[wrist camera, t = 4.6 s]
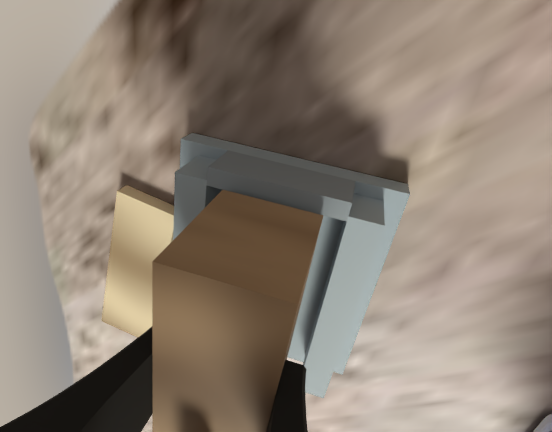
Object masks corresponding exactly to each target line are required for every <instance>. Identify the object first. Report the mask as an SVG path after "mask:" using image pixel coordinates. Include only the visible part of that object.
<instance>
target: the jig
mask: <svg viewBox="0 0 552 432" xmlns="http://www.w3.org/2000/svg"><path fill="white" fill-rule="evenodd" d="M222 190H226V191H230V192H234V193H238V194H242V195H246V196H250V197H254V198H258V199H262V200H265V201H269V202H273V203H277V204H281V205H285V206H289V207H293V208H297V209H300V210H304V211H308V212H312V213H316V214H320V215H323V219H322V223H321V227H320V231H319V235H318V239H317V243H316V247H315V251H314V255H313V258H312V262H311V266H310V270H309V274H308V278H307V282H306V286H305V290H304V294H303V298H302V302H301V305H300V309H299V313H298V317H297V321H296V325H295V329H294V333H293V337H292V341H291V345H290V348H289V352H288V356H287V357H288V358H292V359H295V360H298V361H301V362H304V363H303V365H304V366H305V368H306V369H307V370H306V381H305V392H306V393H309V394H312V395H315V396H318V397H321V398H324V396H325V393H326V390H327V388H328V385H329V382H330V379H331V376H332V373H333V372H336V373H339V374H343V371H344V369H345V366H346V363H347V361H348V358H349V355H350V353H351V350H352V347H353V345H354V342H355V339H356V337H357V334H358V331H359V329H360V326H361V323H362V321H363V318H364V315H365V313H366V310H367V307H368V305H369V302H370V299H371V297H372V294H373V291H374V289H375V286H376V283H377V281H378V278H379V275H380V273H381V270H382V267H383V265H384V262H385V259H386V257H387V254H388V251H389V249H390V246H391V243H392V241H393V238H394V235H395V233H396V230H397V227H398V225H399V222H400V219H401V217H402V214H403V211H404V209H405V206H406V203H407V201H408V198H409V195H410V192H409V187H408V184H405V183H401V182H397V181H393V180H389V179H384V178H380V177H376V176H372V175H368V174H363V173H359V172H355V171H351V170H347V169H342V168H338V167H334V166H330V165H325V164H321V163H317V162H313V161H309V160H304V159H300V158H296V157H292V156H288V155H283V154H279V153H275V152H271V151H267V150H262V149H258V148H254V147H250V146H246V145H241V144H237V143H233V142H229V141H225V140H220V139H216V138H212V137H208V136H204V135H199V134H195V133H191V134H189V135H187V136H185V137H183V138H182V139H181V151H180V169H179V170H177V171H176V172H175V192H174V229H173V240H174V239H175V238H176V237H177V236H178V235H179V234H180V233H181V232H182V231H183V230H184V229H185V228H186V227H187V226H188V225H189V224H190V223H191V222H192V220H193V219H194V218H195V217H196V216H197V215H198V214H199V213H200V212H201V211H202V210H203V209H204V208H205V207H206V206H207V205H208V204H209V203H210V202H211V201H212V200H213V199H214V198H215V197H216V196H217V195H218V194H219V193H220V192H221V191H222Z"/></svg>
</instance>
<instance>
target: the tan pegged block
mask: <svg viewBox="0 0 552 432" xmlns="http://www.w3.org/2000/svg"><path fill="white" fill-rule="evenodd" d="M322 219H323V215H320V214H316V213H312V212H308V211H304V210H300V209H297V208H293V207H289V206H285V205H281V204H277V203H273V202H269V201H265V200H262V199H258V198H254V197H250V196H246V195H242V194H238V193H234V192H230V191H226V190H222V191H221V192H220V193H219V194H218V195H217V196H216V197H215V198H214V199H213V200H212V201H211V202H210V203H209V204H208V205H207V206H206V207H205V208H204V209H203V210H202V211H201V212H200V213H199V214H198V215H197V216H196V217H195V218H194V219H193V220H192V222H191V223H190V224H189V225H188V226H187V227H186V228H185V229H184V230H183V231H182V232H181V233H180V234H179V235H178V236H177V237H176V238H175V239H174V240H173V241H172V242H171V243H170V244H169V245H168V246H167V247H166V248H165V249H164V250H163V251H162V252H161V253H160V254H159V255H158V256H157V257H156V258H155V259H154V260H153V261H152V355H153V432H266V431H267V427H268V424H269V420H270V416H271V412H272V408H273V404H274V400H275V396H276V392H277V388H278V384H279V381H280V377H281V374H282V370H283V366H284V363H285V360H287V356H288V352H289V348H290V345H291V341H292V337H293V333H294V329H295V325H296V321H297V317H298V313H299V309H300V305H301V302H302V298H303V294H304V290H305V286H306V282H307V278H308V274H309V270H310V266H311V262H312V258H313V255H314V251H315V247H316V243H317V239H318V235H319V231H320V227H321V223H322Z"/></svg>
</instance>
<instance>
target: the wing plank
mask: <svg viewBox="0 0 552 432" xmlns="http://www.w3.org/2000/svg"><path fill="white" fill-rule="evenodd" d="M173 229H174V206H173V205H171V204H169V203H166V202H164V201H162V200H160V199H157V198H155V197H153V196H150V195H148V194H146V193H144V192H141V191H139V190H137V189H134V188H132V187H130V186H127V185H126V186H124V187H123V188H121V189H120V190H118V191H117V196H116V205H115V213H114V221H113V230H112V238H111V246H110V255H109V263H108V272H107V280H106V288H105V297H104V305H103V313H102V321H103V322H105V323H107V324H109V325H112V326H114V327H116V328H118V329H120V330H123V331H125V332H127V333H129V334H131V335H134V336H136V337H139V336H141V335H142V334H143V333H144V332H146V331H147V330H148V329H149V328H151V327H152V261H153V260H154V259H155V258H156V257H157V256H158V255H159V254H160V253H161V252H162V251H163V250H164V249H165V248H166V247H167V246H168V245H169V244H170V243H171V242H172V241H173Z"/></svg>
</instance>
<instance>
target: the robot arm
mask: <svg viewBox="0 0 552 432" xmlns="http://www.w3.org/2000/svg"><path fill="white" fill-rule="evenodd" d="M306 370H307V369H306V368H305V366H304V365H301V364H297V363H294V362H291V361H288V360H285V363H284V366H283V370H282V374H281V377H280V381H279V384H278V388H277V392H276V396H275V400H274V404H273V408H272V412H271V416H270V420H269V424H268V427H267V431H266V432H308V431H307V421H306V404H305V381H306ZM152 413H153V355H152V327H151V328H149V329H148V330H147V331H146V332H144V333H143V334H142V335H141V336H139V337H138V338H137V339H136V340H134V341H133V342H132V343H130V344H129V345H128V346H127V347H125V348H124V349H123V350H121V351H120V352H119V353H117V354H116V355H115V356H113V357H112V358H110V359H109V360H108V361H106V362H105V363H104V364H102V365H101V366H100V367H98V368H97V369H95V370H94V371H92V372H91V373H89V374H88V375H86V376H85V377H83V378H82V379H80V380H79V381H77V382H76V383H74V384H73V385H72V386H70V387H69V388H67V389H65V390H64V391H62V392H61V393H59V394H58V395H56V396H54V397H53V398H51V399H49V400H48V401H46V402H44V403H43V404H41V405H39V406H38V407H36V408H34V409H32V410H31V411H29V412H27V413H25V414H24V415H22V416H20V417H18V418H16V419H14V420H13V421H11V422H9V423H7V424H5V425H3V426H1V427H0V432H141V431H142V429H143V428H144V426H145V425H146V423H147V421H148V420H149V418H150V417H151V415H152ZM533 432H552V414H550V415H548V416H546V417H545V418H544V419H543V421H542V422H541V423H540V424H539V425H538V426H537V428H536V429H535V430H534V431H533Z"/></svg>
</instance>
